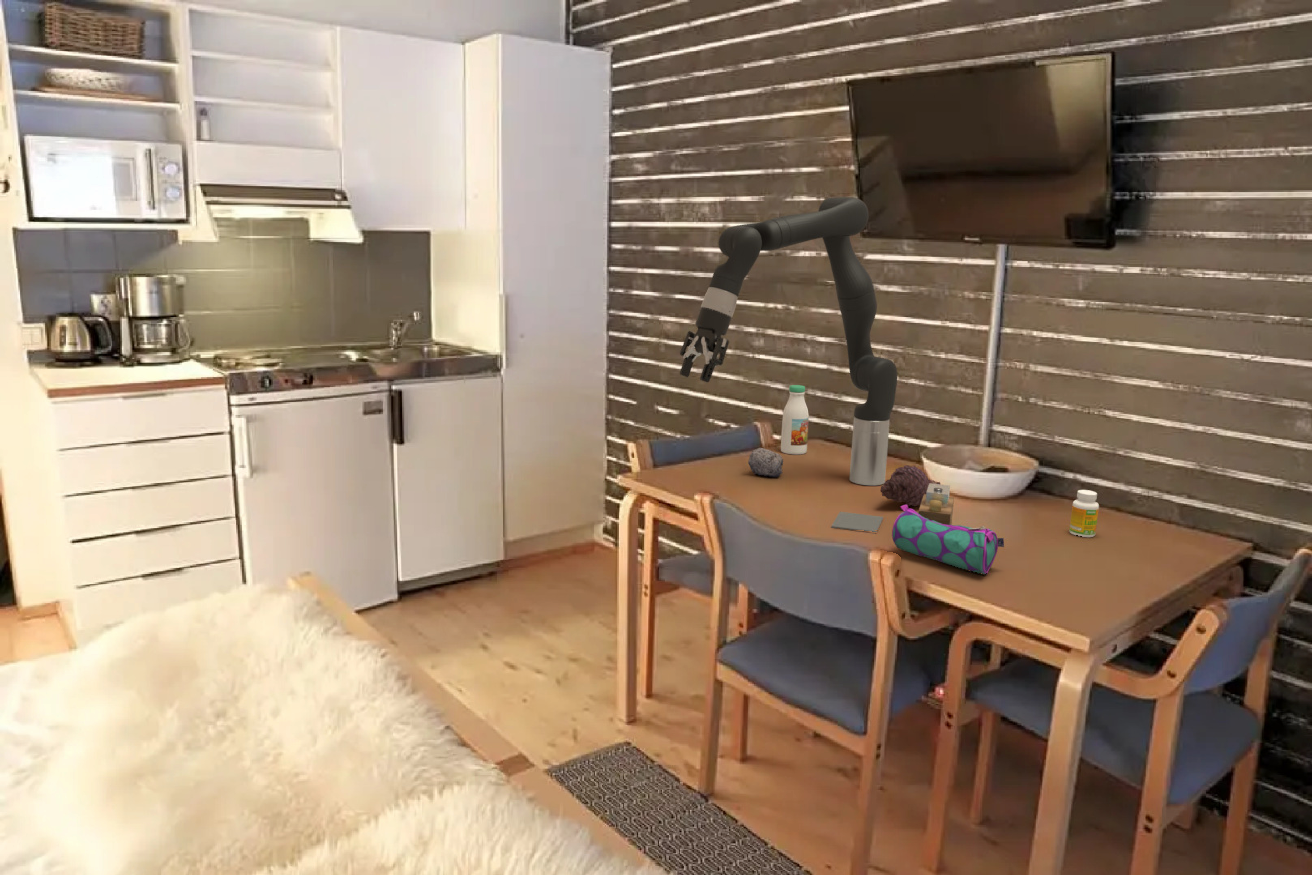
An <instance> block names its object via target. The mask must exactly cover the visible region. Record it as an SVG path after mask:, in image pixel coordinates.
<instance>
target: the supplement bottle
mask: <svg viewBox="0 0 1312 875" xmlns="http://www.w3.org/2000/svg"><path fill="white" fill-rule="evenodd" d="M1097 496H1098V493H1097V492H1096V491H1093V490H1088V489H1079V490H1077V494H1076V499H1075V500H1073V502H1072V506H1071V507H1072V508H1071V514H1070V522H1069V530H1068V531H1069V533H1070V534H1071V535H1073V536H1076V535H1078V536H1077V537H1080V536H1082V537H1081V538H1092V537H1095V536H1096V532H1097V524H1098V517H1099V512H1100V510H1099V509H1100V505H1099V503H1098V502H1096V501H1097Z"/></svg>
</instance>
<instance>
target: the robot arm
mask: <svg viewBox="0 0 1312 875" xmlns="http://www.w3.org/2000/svg"><path fill="white" fill-rule="evenodd" d="M869 214H870V213H869V209H868V207H867V204H866V203H865V202H864V201H863V200H861V199H859V198H857V197H852V196H842V197H841V196H840V197H839V196H838V197H834V196H833V197H828V198H826V199H824V200H823V201H822V202H821V203H820V206H819V208H818V211H813V212H807V213H806V212H803V213H797V214H796V213H795V214H790V215H783V216H779V217H774V218H769V219H767V220H766V219H765V220H763V221H758V222H755V223H754V222H752V223H746V224H740V225H739V224H738V225H732V226H729V227H727V228H726V229H724V230H723V231H722V232H721V234H720V236H719V238H718V247H719V250H720V252H721V253H722V254H723V255H724V256H726V257H728V259H727V260H726V261H725V262H724V263H722V264H719V265H717V266H716V268H715V269H714V272H713V274H712V277H711V280H710V283H709V286H708V288H707V291H706V293H705V295H704V297H703V300H702V303H701V305H700V309H699V312H698V315H697V318H696V320H695V327H697V331H696V332H693V331H691V330H688V331H687V333H686V336H685V338H684V340H683V341H684V342H683V344H682V346H681V350H680V352H679V355H680V356H682V359H683V362H682V365H681V367H680V372H679V375H680V376H682V377H685V378H688V377H689V376H690V374H691V370H692V367H693V364H694V361H695V360H696V359H697V357H700V356H701V355H703V356H704V358H705V364H704V365H703V367H702V368H703V369H702V371H701V374H700V377H699V379H700V381H702V382H704V383H709V382H710V381H711V378H712V376H713V373H714V369H715V368H716V367H717V366H722V365H723V363H724V360H725V356H726V353H727V350H728V346H729V344H730V340H729V339H728V338H727V339H726V338H724V336H727V333H728V330H729V327H730V324H731V322H732V319H733V315H734V313H735V310H736V307H737V302H738V298H739V295H740V292H741V289H742V287H743V283H744V280H745V278H746V277H747V275H748V274H749V272H750V271H751V269H752V268H753V266H754V264H755V263H756V261H757V260H758V258H759V255H760V253H761V252H762V251H763V252H767V251H769V252H770V251H777V250H779V249H783V248H787V247H790V246H793V245H798V244H801V243H805V242H808V241H809V242H810V241H812V240H813V241H814V240H817V239H822V240H823V244H824V246H825V250H826V252H827V255H828V259H829V263H830V268H831V272H832V276H833V281H834V285H835V290H836V296H837V301H838V307H839V311H840V315H841V320H842V323H843V325H842V326H843V330H844V335H845V340H846V347H847V349H846V350H847V357H848V358H847V360H848V368H849V375H850V379H851V382H852V384H853V386H854V387H855V388H857V389H859V390H861V391H864V392H867V397H866V400H865V402H864V403H862V404H857V405H856V406H855V407H854V410H853V427H852V439H851V440H852V441H851V453H850V466H849V467H850V468H849V481H850V482H852V483H853V484H856V485H861V486H862V485H863V486H883V485H884V483H885V481H886V474H887V473H886V470H887V461H888V459H887V458H888V446H889V434H890V433H889V432H890V421H891V420H890V419H891V413H892V411H893V409H894V406H895V401H896V400H895V399H896V392H897V386H898V369H897V366H896V364H895V362H894V361H892V360H891V359H888V358H885V357H880V356H879V357H878V356H875V355H874V353H873V349H872V348H873V347H872V344H871V337H870V336H871V331H872V327H873V325H874V321H875V319H876V315H877V311H878V310H877V309H878V303H877V297H876V292H875V287H874V283H873V281H872V278H871V276H870V274H869V273H868V271H867V269H866V268H865V267H864V265H863V264H862V263H861V261H860V260H859V257H857V255H856V253H855V251H854V249H853V246H852V241H851V238H850V237H852V236H855V235H858V234H860V233H861V232H862V231H863V230H865V228H866V226H867V224H868V222H869V217H870V216H869ZM718 357H719V358H718Z"/></svg>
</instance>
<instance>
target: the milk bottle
mask: <svg viewBox="0 0 1312 875" xmlns="http://www.w3.org/2000/svg"><path fill="white" fill-rule="evenodd" d="M788 389H789V392H788V393H789V398H788V399H787V402H786V405H785V406H784V408H783V413H782V424H781V434H780V435H781V437H780V438H781V439H780V440H781V441H780V451H781V453H784V454H789V455H803V454H806V453H807V452H808V439H809V421H810V420H809V416H810V415H809V414H810V413H809V410H808V407H807V404H806V400H805V394H806V386H805V385H801V384H792V385H789V388H788Z"/></svg>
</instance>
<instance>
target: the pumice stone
mask: <svg viewBox="0 0 1312 875" xmlns="http://www.w3.org/2000/svg"><path fill="white" fill-rule="evenodd" d="M747 463H748V466H749V468H750V470H751V471H752V473H753V474H754V475H755V474H758V475H757V476H760V475H764V476H763V477H767V476H769V477H768V478H779V477H780V476H781V475H782V474H783V468H782V466H784V458H783V456H781V454H779V453H777V452H774V451H773V450H770V449H766V448H764V447H763V448H762V447H758V448H755V449H753V450H752V451H751V453H750V454H749V459H748V462H747Z"/></svg>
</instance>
